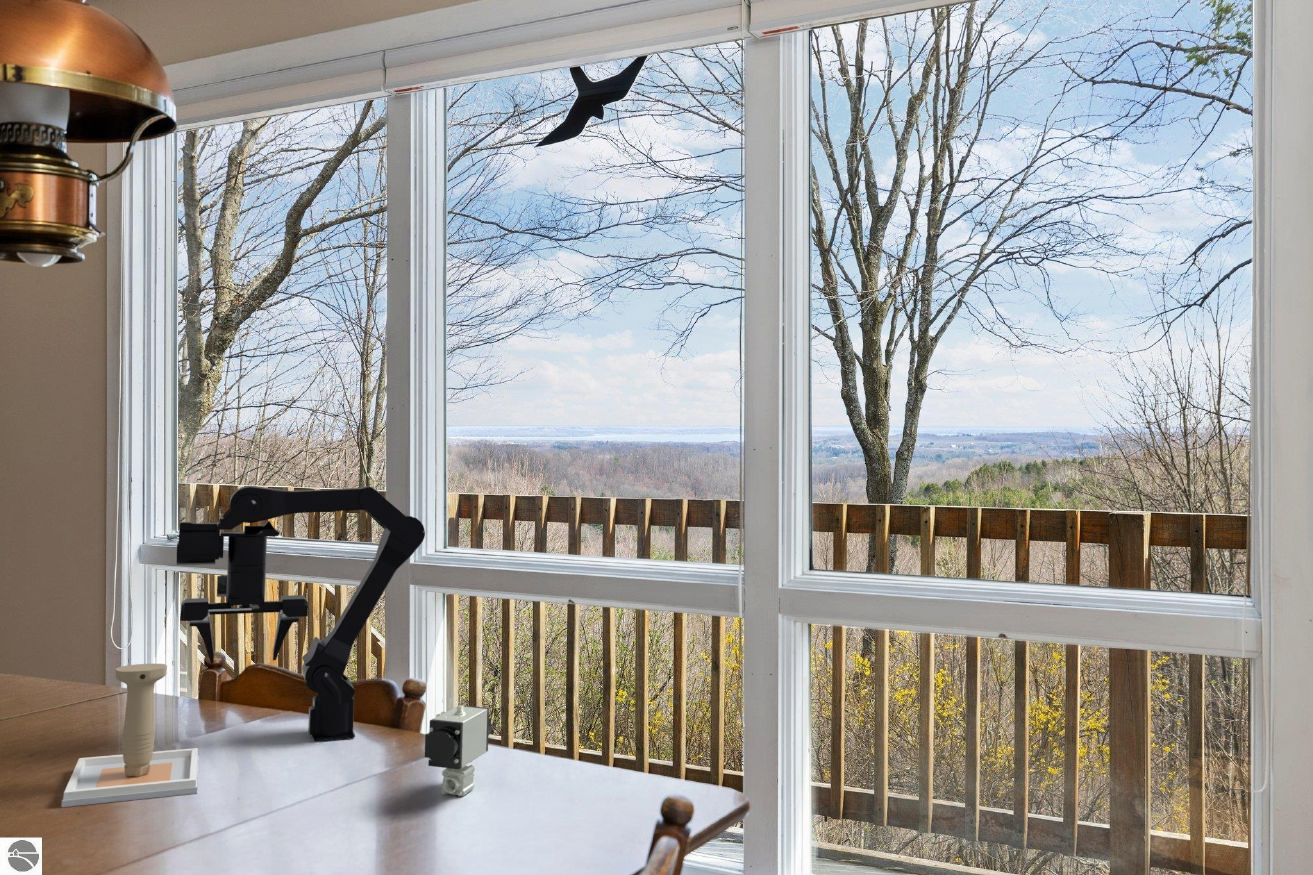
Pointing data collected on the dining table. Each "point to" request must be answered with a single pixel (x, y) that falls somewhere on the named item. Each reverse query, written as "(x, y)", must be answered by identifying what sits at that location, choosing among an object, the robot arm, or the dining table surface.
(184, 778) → the white shallow tray
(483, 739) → the pneumatic valve
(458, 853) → the dining table surface
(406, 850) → the dining table surface
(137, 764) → the handle
